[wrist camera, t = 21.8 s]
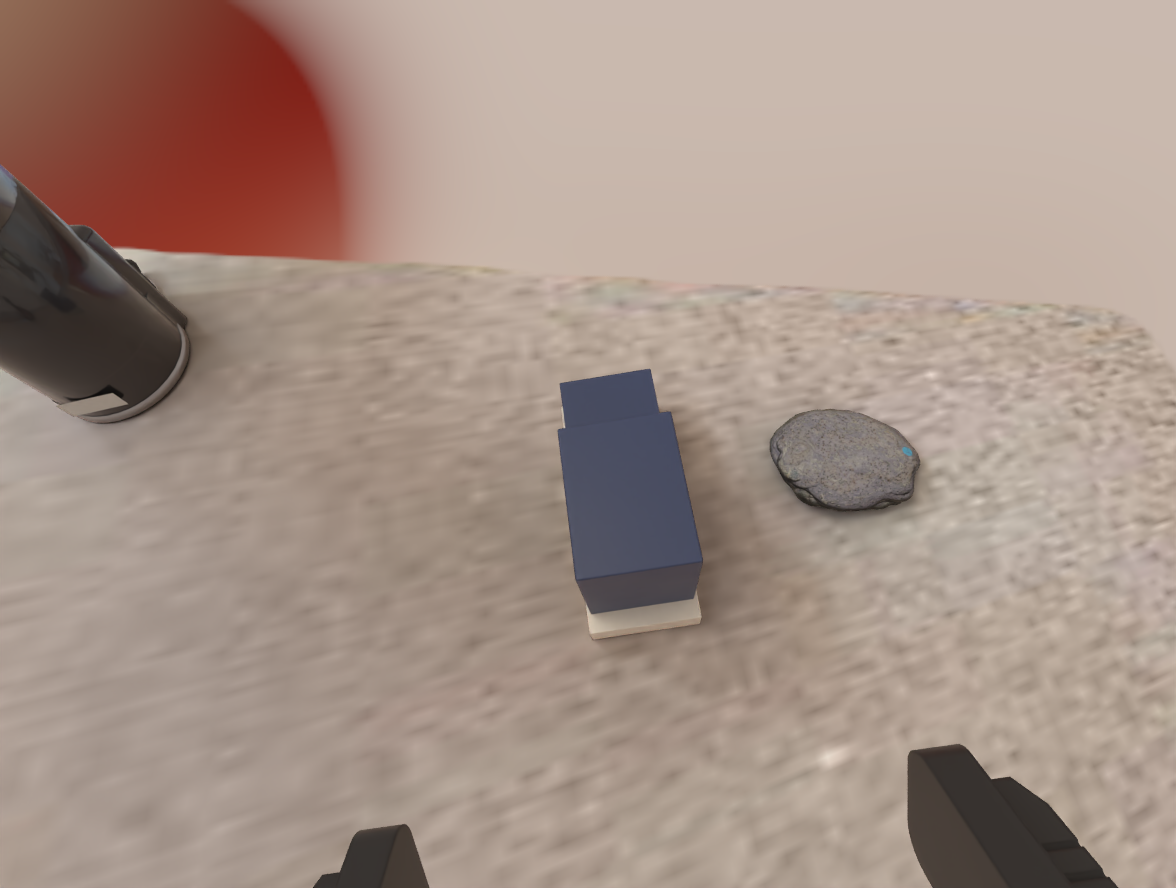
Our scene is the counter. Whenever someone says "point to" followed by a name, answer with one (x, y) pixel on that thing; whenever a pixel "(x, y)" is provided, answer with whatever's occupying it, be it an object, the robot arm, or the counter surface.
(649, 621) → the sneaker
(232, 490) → the counter surface
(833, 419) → the stone
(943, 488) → the counter surface
